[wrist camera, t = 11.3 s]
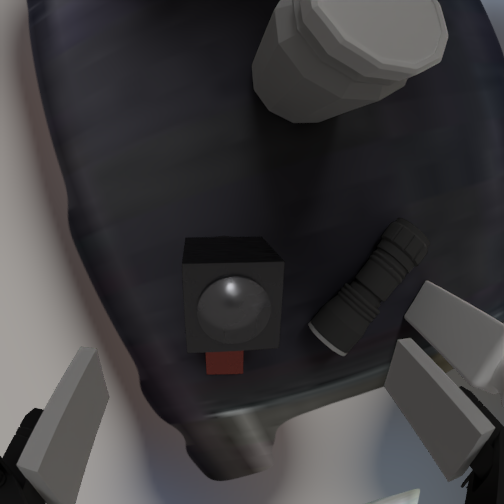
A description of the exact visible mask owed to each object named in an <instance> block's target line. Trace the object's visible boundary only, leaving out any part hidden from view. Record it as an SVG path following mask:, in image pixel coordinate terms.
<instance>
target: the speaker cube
mask: <svg viewBox="0 0 504 504" xmlns="http://www.w3.org/2000/svg"><path fill="white" fill-rule="evenodd" d="M284 263H285V262H284V260H283V259H282V258H281V257H280V256H279V255H278V254H277V253H276V252H275V251H274V249H273V248H272V247H271V246H270V245H269V244H268V243H267V242H266V241H265V240H264V239H263V237H199V238H186V239H185V246H184V253H183V261H182V275H183V296H184V314H185V329H186V342H187V353H204V352H228V351H246V350H260V349H273V348H279V338H280V324H281V310H282V295H283V280H284Z"/></svg>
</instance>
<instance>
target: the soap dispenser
mask: <svg viewBox="0 0 504 504" xmlns="http://www.w3.org/2000/svg"><path fill="white" fill-rule="evenodd" d="M404 318H405V319H406V320H407V321H408V322H409V323H410V324H411V325H412V326H413V327H414V328H415V329H416V330H417V331H418V332H419V333H420V334H421V335H422V336H423V337H424V338H425V339H426V340H427V341H428V342H429V343H430V344H431V345H432V346H433V347H434V348H435V349H436V350H437V351H438V352H439V353H440V354H441V355H442V356H443V357H444V358H445V359H446V360H447V361H448V362H449V363H450V365H451V366H452V367H453V368H454V369H456V371H457V372H458V373H459V374H460V375H461V376H462V377H463V378H464V379H465V380H466V381H467V382H468V383H469V384H470V385H471V386H472V387H475V388H478V389H481V390H484V391H486V392H489V393H491V394H497V393H498V392H499V393H500V395H501V399H502V402H501V403H502V406H503V407H504V324H503V323H502V322H500V321H498V320H497V319H495V318H493V317H491V316H490V315H488V314H486V313H485V312H483V311H481V310H479V309H478V308H476V307H474V306H473V305H471V304H469V303H467V302H466V301H464V300H462V299H460V298H458V297H457V296H455V295H453V294H451V293H450V292H448V291H446V290H444V289H442V288H441V287H439V286H437V285H435V284H433V283H431V282H430V281H425V283H424V284H423V286H422V288H421V289H420V291H419V293H418V294H417V296H416V298H415V299H414V301H413V303H412V304H411V306H410V307H409V309H408V311H407V312H406V314H405V315H404Z"/></svg>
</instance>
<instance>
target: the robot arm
mask: <svg viewBox="0 0 504 504" xmlns="http://www.w3.org/2000/svg"><path fill="white" fill-rule="evenodd" d="M384 387H385V388H386V390H387V391H388V393H389V394H390V395H391V397H392V398H393V400H394V401H395V403H396V404H397V405H398V407H399V409H400V410H401V412H402V413H403V414H404V416H405V417H406V419H407V420H408V422H409V423H410V424H411V426H412V428H413V429H414V431H415V432H416V434H417V435H418V436H419V438H420V440H421V441H422V442H423V444H424V445H425V447H426V448H427V450H428V452H429V453H430V455H431V456H432V458H433V459H434V461H435V462H436V464H437V465H438V467H439V468H440V470H441V471H442V473H443V474H444V476H445V477H446V479H447V481H448V482H449V481H452V480H454V479H456V478H458V477H460V476H462V475H463V474H464V473H465V471H466V470H467V469H468V467H469V466H470V467H471V468H472V469H473V471H472V472H471V473H470V475H469V476H468V477H467V478H466V479H465V481H464V482H463V483H462V485H461V487H462V488H463V487H464V486H465V484H466V483H467V482H468V481H469V483H468V486H467V487H466V488H468V489H467V494H466V500H465V504H504V426H503V425H502V424H501V423H500V422H499V421H498V420H497V419H496V418H495V417H494V416H493V415H492V414H491V412H490V411H489V410H488V409H487V408H486V407H485V406H483V404H482V403H481V402H480V401H478V399H477V398H476V397H475V395H473V393H472V392H471V391H469V390H467V389H465V388H464V387H462V386H461V387H458V386H457V385H456V384H455V383H454V382H453V381H452V380H451V379H450V378H449V377H448V376H447V375H446V373H445V372H444V371H443V370H442V369H441V368H440V367H439V366H438V365H437V364H436V363H435V362H434V361H433V360H432V359H431V358H430V357H429V356H428V355H427V354H426V353H425V352H424V351H423V350H422V349H421V348H420V347H419V346H418V345H417V344H416V343H415V342H414V341H413V340H412V339H411V338H406V339H399V340H397V344H396V347H395V351H394V354H393V358H392V361H391V365H390V368H389V371H388V374H387V378H386V381H385V384H384ZM108 399H109V394H108V391H107V387H106V383H105V380H104V376H103V372H102V368H101V364H100V360H99V356H98V352H97V349H96V348H88V347H80V349H79V351H78V352H77V354H76V356H75V357H74V359H73V360H72V362H71V364H70V365H69V367H68V369H67V370H66V372H65V374H64V375H63V377H62V379H61V381H60V383H59V384H58V386H57V387H56V389H55V391H54V393H53V395H52V396H51V398H50V400H49V402H48V404H47V405H46V407H45V409H44V410H42V409H37V408H34V409H33V410H32V411H30V412H29V413H28V414H27V415H26V416H25V417H24V419H23V421H22V423H21V424H20V427H19V428H18V430H17V432H16V435H14V437H13V439H12V441H11V443H10V444H9V446H8V448H7V450H6V452H5V454H4V456H3V458H1V456H0V504H45V503H47V504H75V503H76V499H77V495H78V492H79V488H80V485H81V482H82V478H83V475H84V471H85V468H86V465H87V462H88V459H89V455H90V452H91V449H92V446H93V443H94V440H95V437H96V434H97V430H98V428H99V425H100V422H101V419H102V416H103V414H104V411H105V408H106V405H107V402H108Z"/></svg>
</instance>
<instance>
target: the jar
mask: <svg viewBox="0 0 504 504" xmlns="http://www.w3.org/2000/svg"><path fill="white" fill-rule="evenodd" d="M447 39H448V32H447V28H446V24H445V20H444V17H443V13H442V9H441V6H440V4H439V2H438V1H437V0H280V1H279V3H278V4H277V6H276V8H275V9H274V11H273V14H272V16H271V18H270V21H269V23H268V26H267V28H266V31H265V33H264V35H263V38H262V40H261V43H260V45H259V48H258V50H257V53H256V55H255V58H254V60H253V63H252V76H253V87H254V91H255V92H256V93H257V95H258V96H259V98H260V99H261V100H262V102H263V103H264V105H265V106H266V107H267V109H268V110H269V111H270V112H272V113H274V114H276V115H278V116H280V117H282V118H284V119H286V120H288V121H290V122H292V123H319V122H322V121H324V120H327V119H329V118H332V117H335V116H337V115H340V114H343V113H346V112H348V111H351V110H354V109H357V108H360V107H362V106H365V105H368V104H371V103H374V102H377V101H379V100H381V99H383V98H384V97H386V96H388V95H390V94H391V93H393V92H395V91H396V90H398V89H400V88H402V87H403V86H405V83H406V81H407V78H409V77H412V76H415V75H417V74H419V73H421V72H423V71H425V70H426V69H428V68H430V67H432V66H434V65H436V64H438V63H440V62H441V59H442V56H443V53H444V50H445V46H446V43H447Z"/></svg>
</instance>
